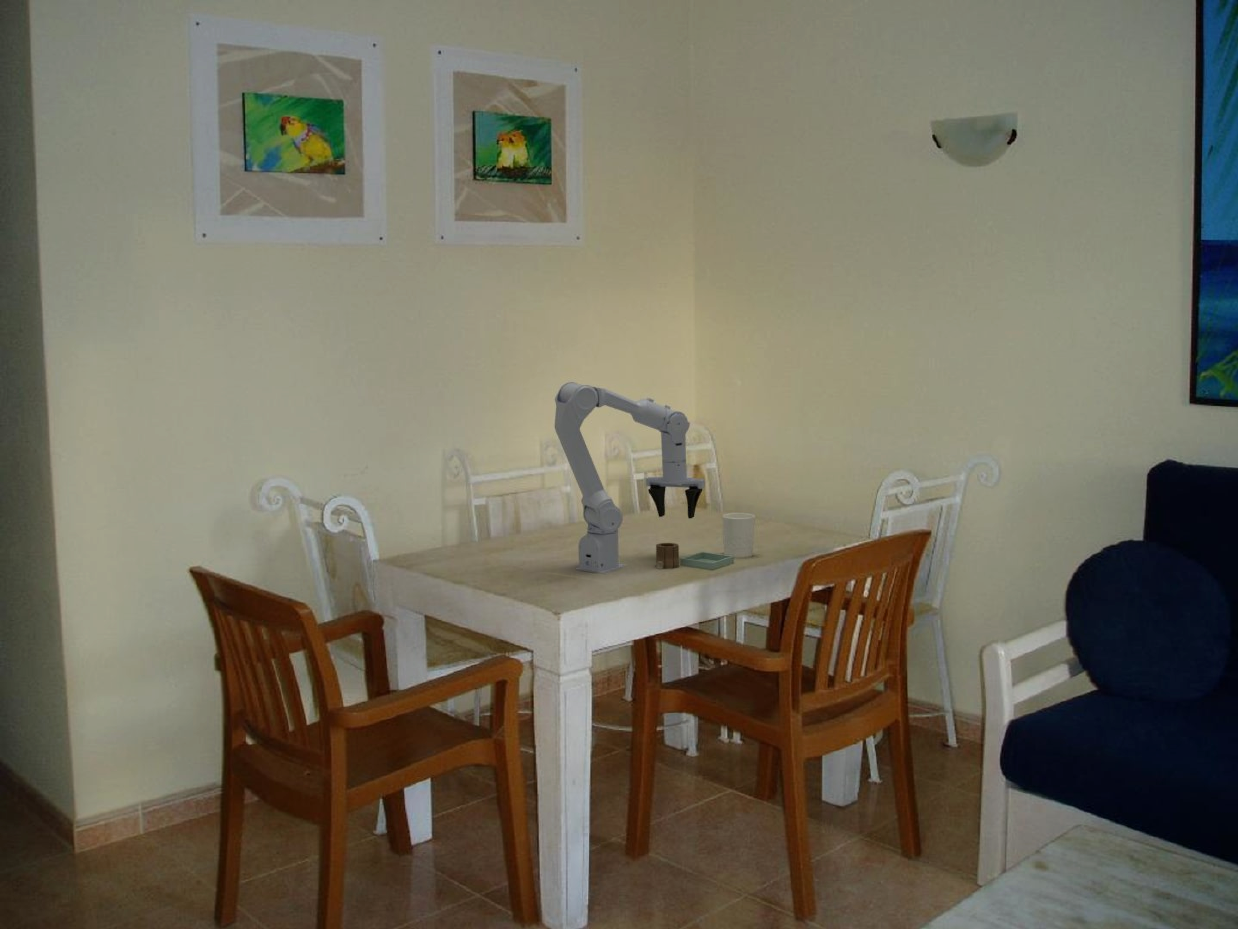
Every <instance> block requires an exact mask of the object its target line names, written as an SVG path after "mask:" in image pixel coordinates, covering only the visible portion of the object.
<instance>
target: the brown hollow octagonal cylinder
mask: <svg viewBox="0 0 1238 929" xmlns="http://www.w3.org/2000/svg"><path fill="white" fill-rule="evenodd" d="M679 548H680V546H679V544H678V543H675V542H660V543H657V544H655V550H656V551H655V556H656V557H655V560H656V561H655V563H656V564H655V567H656V566H657V567H656V570H657V569H658V570H664V569H665V570H668V569H667V568H674V569H677V568H676V567H678V566H679V567H680V562H679V560H680V556H679V554H680V553H679V551H680V550H679ZM679 567H678V568H679ZM663 568H664V569H663Z"/></svg>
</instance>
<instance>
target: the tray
mask: <svg viewBox="0 0 1238 929" xmlns="http://www.w3.org/2000/svg"><path fill="white" fill-rule="evenodd" d="M734 559H735V557H734V556H728V555H724V554H721V553H714V552H713V553H712V552H707V551H700V552H699V551H698V552H696V553H693V554H691V555H688V556H684V557H681V558H680V566H683V567H689V568H695V569H702V570H709V571H715V570H718V569H721V568H724V567H726V566H729V565H733V564H734V563H735V560H734Z"/></svg>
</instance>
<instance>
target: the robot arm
mask: <svg viewBox="0 0 1238 929" xmlns="http://www.w3.org/2000/svg"><path fill="white" fill-rule="evenodd" d="M556 393H557V394H556V396H554V397H555V398H554V401H555V405H556V406H555V414H554V415H555V417H554V418H555V419H554V429H555V433H556V436H557V437H558V440H559V442H560V445H561V447H562V449H563V452H564V455H565V457H566V458H567V461H568V464H569V466H570V468H571V470H572V473H573V476H574V478H575V480H576V483H577V485H578V488H579V490H580V492H581V495H582V498H581V499H580V502H581V504H582V511H583V512H582V516H583V520H584V522H586V524H587V528H586V529H587V530H586V531H587V532H586V533H585V535H584V536H582V537H581V538H580V540H579V542H578V567H576V568H575V569H576V570H578V571H585V572H591V573H597V574H605V573H609V572H613V571H615V570H618V569H621V568H625V567H627V564H623V563H620V561H619V558H620V556H619V554H620V553H619V529H620V528H621V525H622V523H623V512H622V510H621V509H620V508H619V507H618V506H617V505H616V504H615V503H614V501H613V499H612V497H611V496H610V495H609V493H608V492H607V491H606V489H605V487H604V485H603V484H602V483H603V482H602V481H601V478H600V475H599V473H598V471H597V468H596V466H595V464H594V460H593V458H592V456H591V454H590V452H589V448H588V446H587V444H586V441H585V440H584V436H583V434H582V431H581V427H582V424H583V422H584V420H585V419H586V418H587V417H589V415H590V414H591V413H592V412H593V411H594V410H595V408H602V407H604V406H606V407H609V408H613V409H615V410H617V411H621V412H624V413H627V414H630V415H631V418H632V420H633V421H634V422H635V423H638V424H641V425H643V426H645V427H646V426H647V427H649V428H651V429H654V430H657V431H659V432H660V438H661V440H660V442H661V461H662V463H661V464H662V465H661V468H662V476H658V477H656V476H655V477H651V476H649V477H647V478H645V487H649V488H648V489H647V490H648V494H649V495H650V497H651V499H652V500H653V502H654V504H655V508H656V511H657V514H658V518H662V517H664V516H665V515H666V506H665V505H666V503H665V501H666V500H665V497H666V488H667V487H668V488H687V489H685V490H684V494H685V496H686V497H685V498H686V505H687V517H688V519H694V517H695V512H696V507H697V504H698V500H699V498H700V496H701V494H702V492H703V489H704V488H706V480H705V479H704V478H693V477H688V473H687V472H688V471H687V447H686V444H687V442H686V440H687V439H686V437H687V436H686V434H687V432H688V431H689V428H690V424H691V423H690V422H689V421H688V418H687V415H686V414H685V413H684V412H681V411H678V410H673V409H671V405H670V406H669V405H667V404H666V405H661V404H659V403H656V402H654V399H652V398H651V397H646V398H640V399H638V400H636V401H635V400H633V399H631V398H628V397H626V396H624V395H621V394H619V393H616V392H614V391H611V390H610V389H607V388H602V387H598V386H592V385H589V384H581V383H577V382H573V381H569V382H565V383H563V385H561V386H560V388H559V390H558V392H556Z"/></svg>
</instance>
